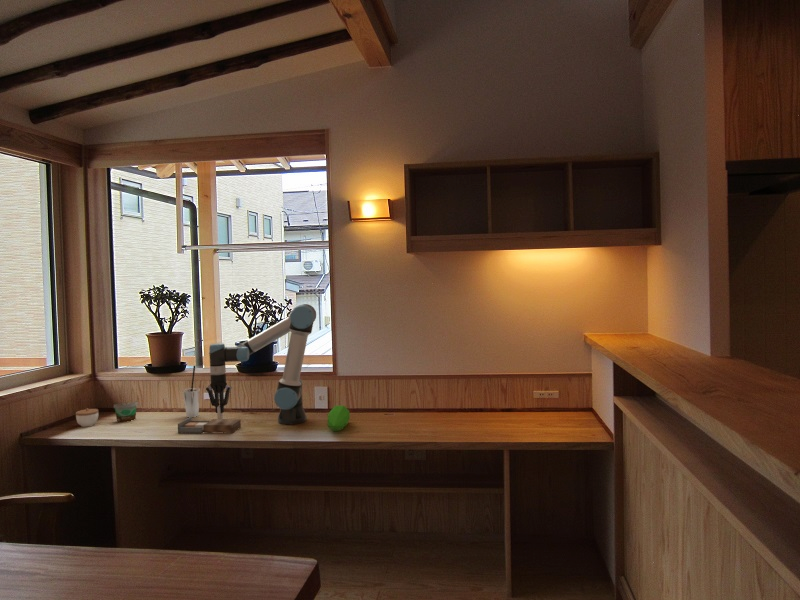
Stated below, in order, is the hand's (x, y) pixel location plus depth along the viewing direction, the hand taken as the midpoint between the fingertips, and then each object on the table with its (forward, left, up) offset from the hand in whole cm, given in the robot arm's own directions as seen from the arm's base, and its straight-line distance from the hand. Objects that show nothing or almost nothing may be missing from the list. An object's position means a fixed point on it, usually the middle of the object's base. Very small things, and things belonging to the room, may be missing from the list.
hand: (220, 419), depth 276 cm
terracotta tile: (+15, 0, -3) cm, 16 cm away
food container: (+60, -16, -6) cm, 63 cm away
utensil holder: (+27, -26, -6) cm, 38 cm away
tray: (+13, 0, -6) cm, 14 cm away
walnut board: (-1, 0, -6) cm, 6 cm away
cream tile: (+10, 0, -5) cm, 11 cm away
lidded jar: (+77, -7, -6) cm, 78 cm away
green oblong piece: (-61, -2, -6) cm, 61 cm away
